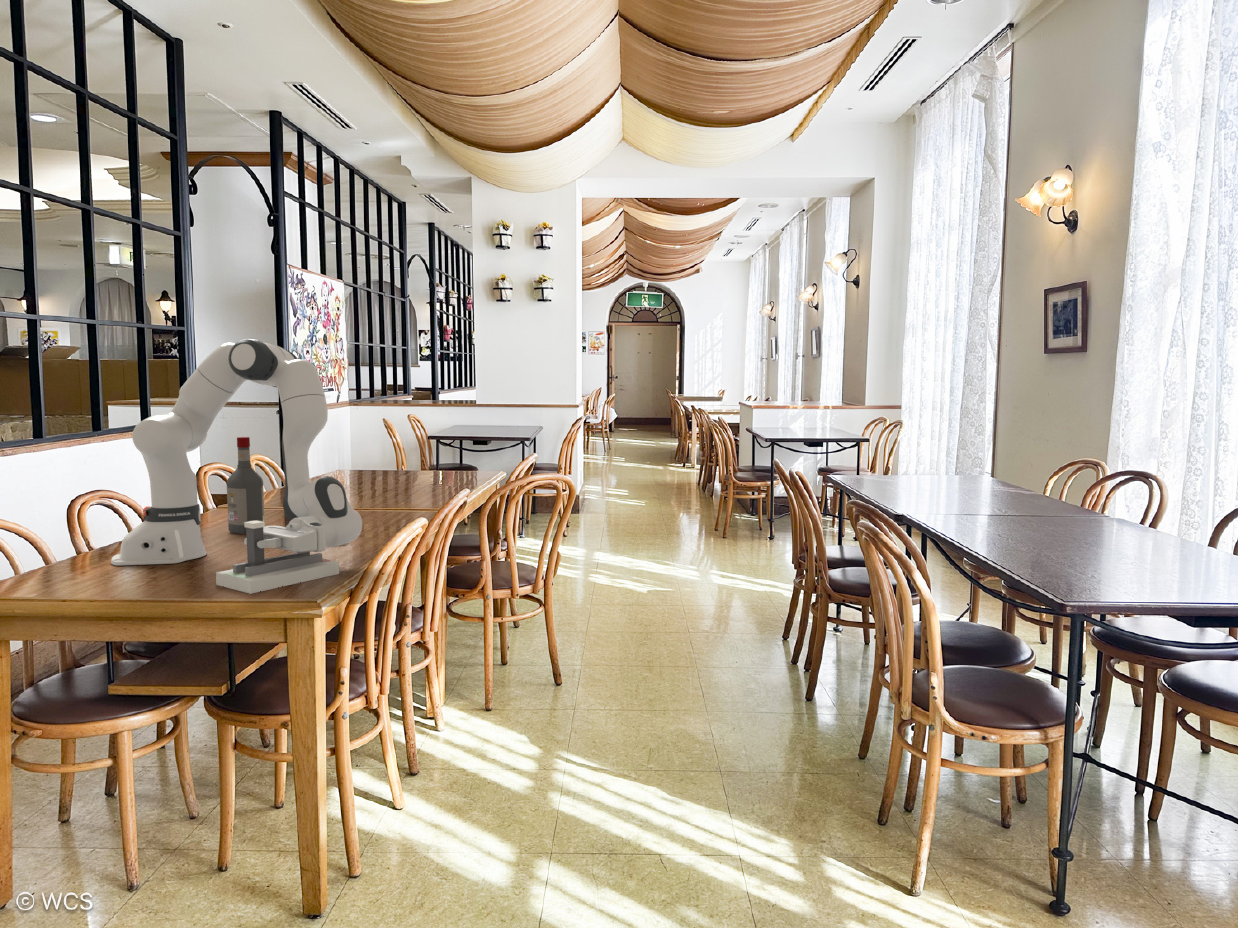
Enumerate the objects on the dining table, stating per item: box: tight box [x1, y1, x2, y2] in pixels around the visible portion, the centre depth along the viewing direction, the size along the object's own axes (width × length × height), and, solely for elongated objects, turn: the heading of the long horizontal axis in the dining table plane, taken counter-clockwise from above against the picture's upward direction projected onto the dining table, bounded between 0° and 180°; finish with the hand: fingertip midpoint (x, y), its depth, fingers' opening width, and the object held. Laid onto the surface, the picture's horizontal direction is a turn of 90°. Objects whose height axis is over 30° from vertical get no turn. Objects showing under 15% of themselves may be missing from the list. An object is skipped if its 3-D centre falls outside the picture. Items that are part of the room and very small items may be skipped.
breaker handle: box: [244, 520, 266, 567], centre depth 196 cm, size 3×4×12 cm
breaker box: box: [215, 551, 340, 595], centre depth 202 cm, size 24×14×5 cm, turn 146°
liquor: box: [226, 436, 266, 535], centre depth 262 cm, size 9×9×30 cm
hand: (251, 543), depth 196 cm, fingers open, 3 cm apart
